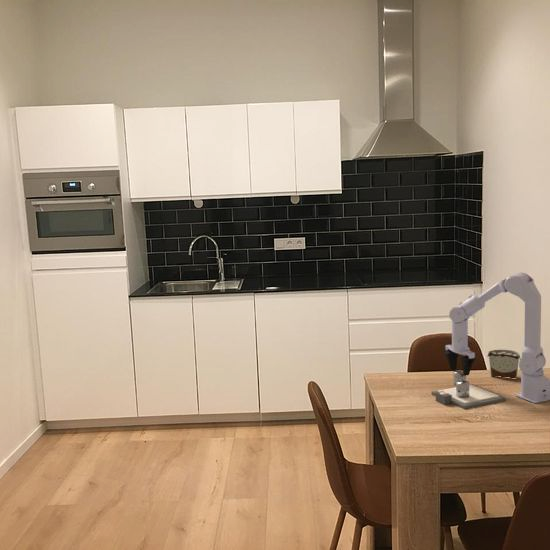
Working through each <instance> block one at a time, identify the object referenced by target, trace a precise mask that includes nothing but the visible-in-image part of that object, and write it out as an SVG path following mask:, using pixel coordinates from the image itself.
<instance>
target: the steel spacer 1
mask: <svg viewBox="0 0 550 550" xmlns="http://www.w3.org/2000/svg"><path fill="white" fill-rule="evenodd" d="M452 371H453V385H454V387H456V381H461V380H463V381H467V375H466V376H464V375H463V369H462V370H461V369H459V370H458V369H456V370H452Z"/></svg>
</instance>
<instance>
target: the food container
mask: <svg viewBox="0 0 550 550" xmlns="http://www.w3.org/2000/svg"><path fill="white" fill-rule="evenodd" d="M487 358H488V359H489V360H488V361H489V369H490V370H489V371H490V377H491V376H501V377H510V378H516V379H517V377H518V371H519V370H518V368H519V362H520V360H521V356H520V353H519V352H518V351H515V350H511V349H509V350H508V349H492V350H489V351H488V353H487Z"/></svg>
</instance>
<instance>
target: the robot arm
mask: <svg viewBox="0 0 550 550" xmlns="http://www.w3.org/2000/svg"><path fill="white" fill-rule="evenodd" d="M501 293H509V294H511V295H514V296H516V297H517V298H519V299H520V300H522V301H523V302H524V340H523V342H524V347H523V350H522V352H521V357H520V359H521V360H520V359H519V362H518V368H519V369H520V371H521V373H520V380H521V381H520V393H516V394H515V397H518V398H521V399H523V400H526V401H529V402H531V403H534V404H538V403H543V402H547V401H548V402H549V401H550V379H549V377H547V376H546V375H545V374H544V369H543V368H544V367H545V365H546V364H547V363H546V357H545V355H544V349H543V347H542V346H541V343H542V341H541V340H542V339H541V335H542V334H541V332H542V327H541V326H542V295H541V293H540V291H539V289H538V287H537V286H536V284H535V280H534V278H533V277H532V276H531V275H529V274H528V273H526V272H518V273H516V274H514V275H509V276H508V277H506V278H504V279H501V280H500V281H499V280H498V282H496V283H495V284H493V285H492V286H491V287H489V288H488V289H487V290H485V291H484V292H482V293H481V294H470V295H469V296H468V298H467V299H466V300H464V301H463V302H459V303H458V306H455V307H452V309H450V311H449V315H448V316H449V319H450V320H451V344H446V345H445V350H446V351H445V352H444V356H445V358H446V359H447V362H448V365H449V369H450V371H456V370H457V366H458V365H457V364H458V357H459V355H462V357H459V359H460V362H461V365H462V370H463V375H464V376H466V377H467V376H470V373H471V370H472V366H473V364H474V363H475V361H476V353H475V352H473V351H472V350H470V347H468V345H469V344H468V341H469V338H468V336H469V335H468V334H469V333H468V328H469V326H468V321H469V319H470V318H471V317H472V316H474V315H475V314H476V313H478V312H479V311H481V310H482V309H484V308H485V307H486V306H485V305H486V302H488V301H490V300H492V299H493V298H494V297H496V296H499V295H500V294H501Z"/></svg>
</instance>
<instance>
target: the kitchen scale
mask: <svg viewBox="0 0 550 550" xmlns="http://www.w3.org/2000/svg"><path fill="white" fill-rule="evenodd" d="M431 395H433V396H435V402H437V403H440V404H442V405H444V406H446V405H450V404H453V405H455V406H457V407H459V408H461V409H463V410H466V409H471V408H475V407H481V406H486V405H490V404H495V402H496V403H500V402H505V401H507V399H506V397H505V396H502V395H500V394H498V393H495V392H493V391H491V390H490V391H489V390H487V389H485V388H482V387H479V386H478V385H475V384H472V383H469V398H459V397H457V396H456V386H453V387H449V388H443V389H438V390H432V391H431Z"/></svg>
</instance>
